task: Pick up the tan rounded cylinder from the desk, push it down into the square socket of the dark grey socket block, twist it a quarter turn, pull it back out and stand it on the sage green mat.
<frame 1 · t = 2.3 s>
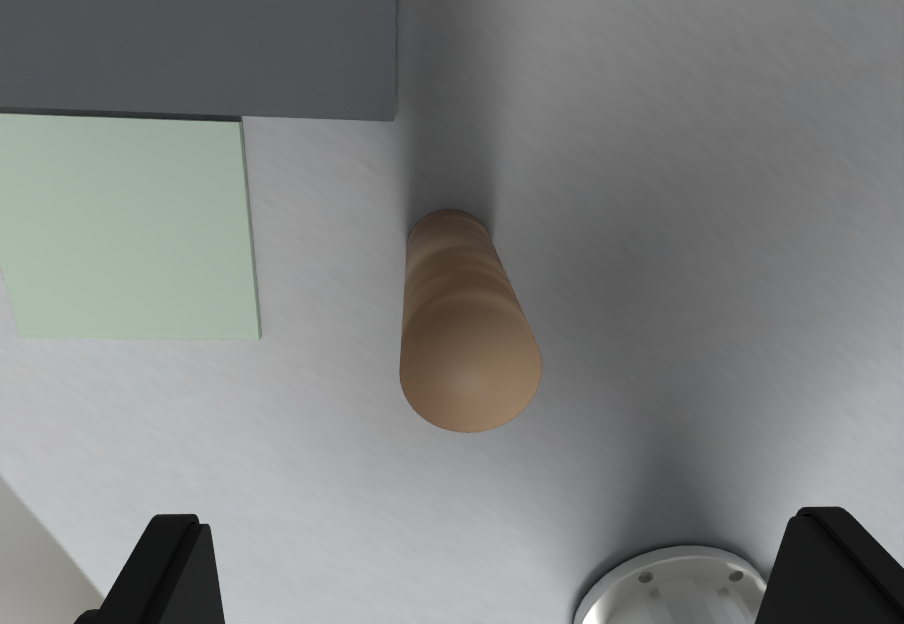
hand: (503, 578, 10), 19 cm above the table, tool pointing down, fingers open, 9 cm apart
set down mat: (127, 233, 26), on the table
tan rounded cylinder: (449, 251, 28), on the table
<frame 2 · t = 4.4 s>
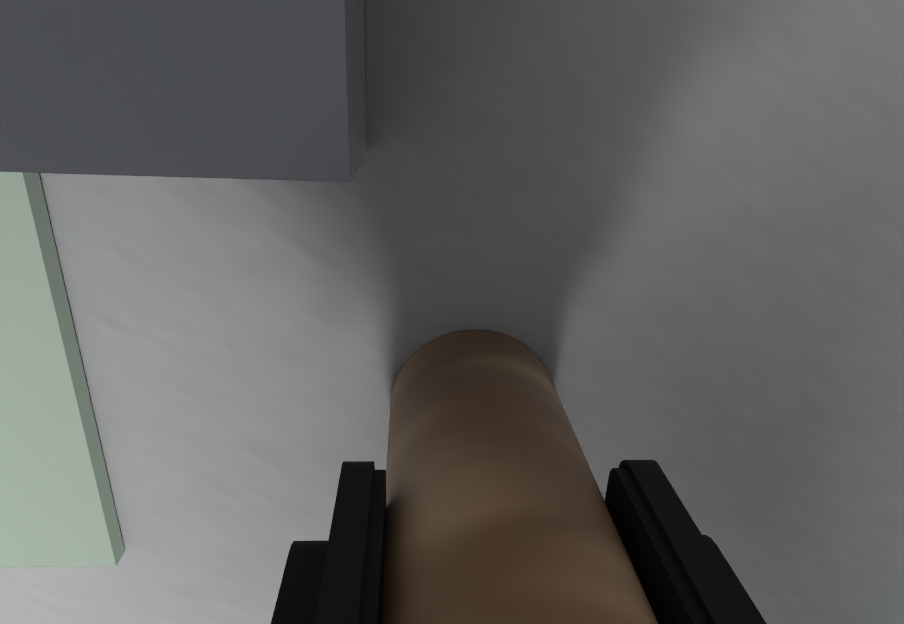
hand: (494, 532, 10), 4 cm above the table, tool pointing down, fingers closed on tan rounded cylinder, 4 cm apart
tan rounded cylinder: (472, 403, 14), on the table, touching gripper
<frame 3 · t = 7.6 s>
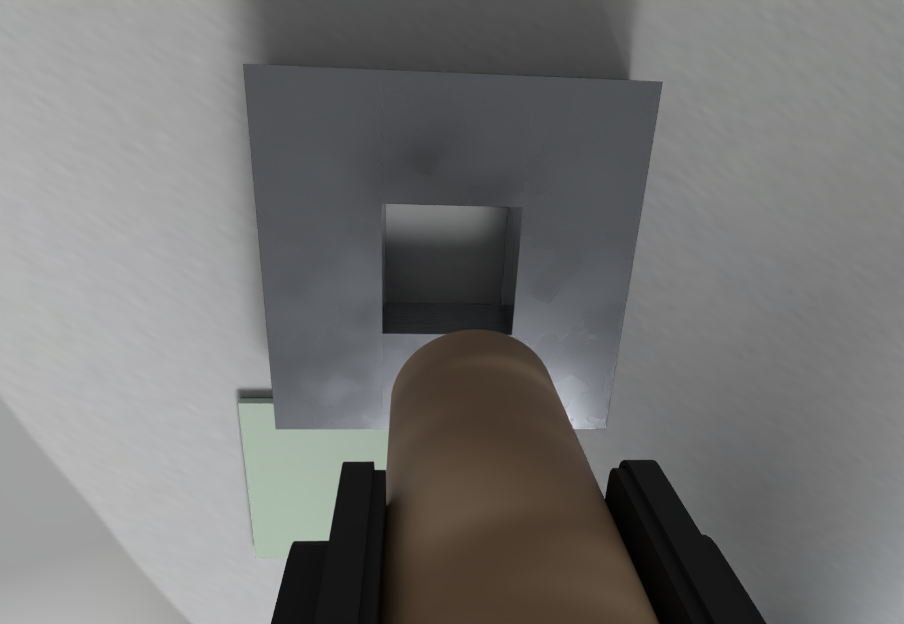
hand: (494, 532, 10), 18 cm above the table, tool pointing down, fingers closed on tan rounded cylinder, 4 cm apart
dark grey socket block: (445, 248, 27), on the table
set down mat: (353, 478, 32), on the table
tan rounded cylinder: (472, 403, 14), point 14 cm above the table, touching gripper
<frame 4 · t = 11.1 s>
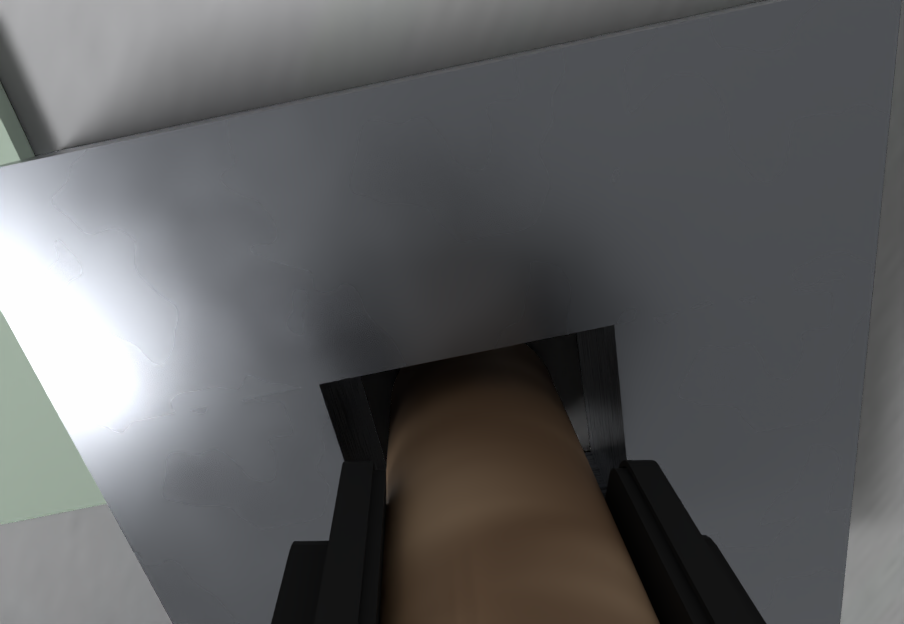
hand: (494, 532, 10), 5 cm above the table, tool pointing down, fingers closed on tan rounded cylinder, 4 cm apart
dark grey socket block: (474, 385, 15), on the table
tan rounded cylinder: (472, 403, 14), point 1 cm above the table, touching gripper
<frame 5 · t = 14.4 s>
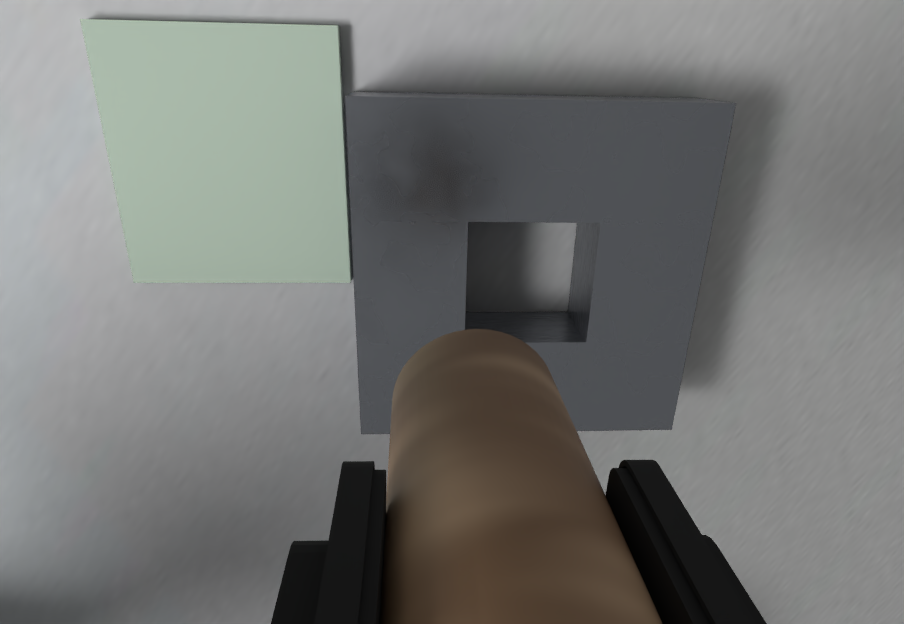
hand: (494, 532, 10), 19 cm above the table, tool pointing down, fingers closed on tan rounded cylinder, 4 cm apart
dark grey socket block: (517, 259, 28), on the table
set down mat: (231, 161, 26), on the table
tan rounded cylinder: (474, 403, 14), point 15 cm above the table, touching gripper
when the fingers open (6 cm above the table, at t = 17.8 s): tan rounded cylinder drops 1 cm, resting on set down mat.
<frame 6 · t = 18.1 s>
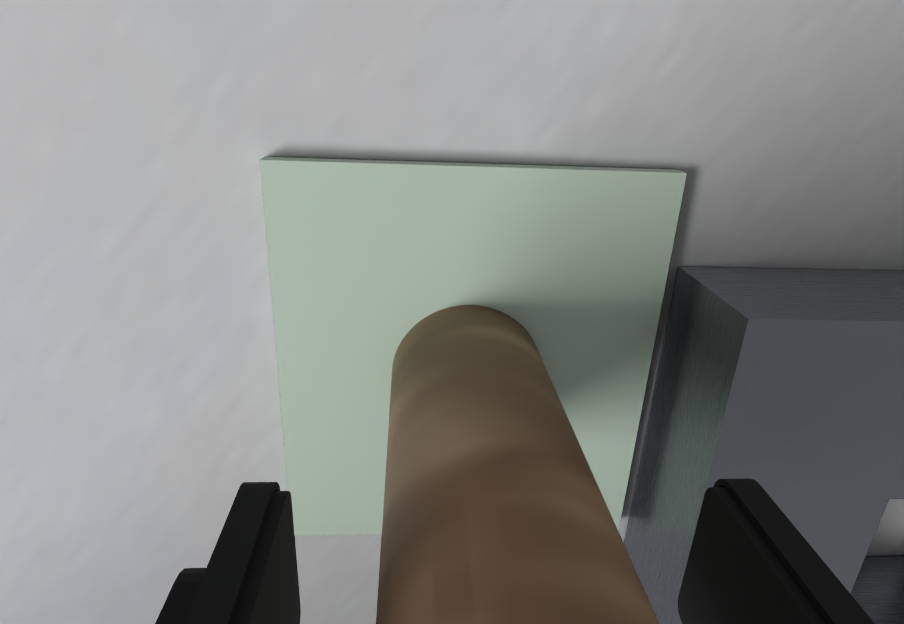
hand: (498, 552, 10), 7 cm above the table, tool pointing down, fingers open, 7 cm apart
dark grey socket block: (860, 492, 19), on the table
set down mat: (465, 365, 16), on the table
tan rounded cylinder: (466, 373, 16), point 1 cm above the table, touching set down mat
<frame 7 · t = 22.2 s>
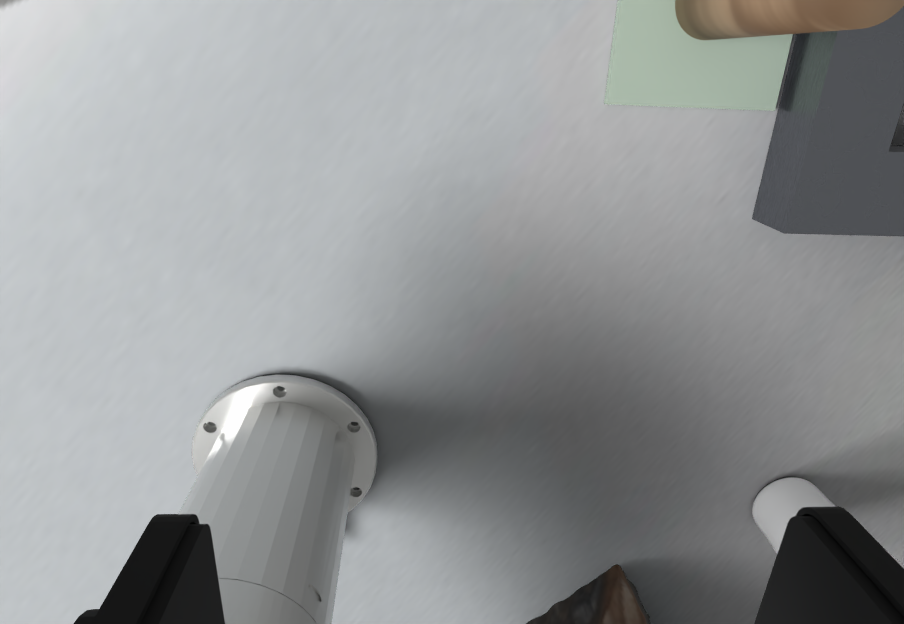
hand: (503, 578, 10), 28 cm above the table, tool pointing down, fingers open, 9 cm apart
jagged brown boulder: (597, 620, 51), on the table
dark grey socket block: (903, 97, 35), on the table
set down mat: (707, 1, 32), on the table
drinking glass: (780, 499, 47), on the table
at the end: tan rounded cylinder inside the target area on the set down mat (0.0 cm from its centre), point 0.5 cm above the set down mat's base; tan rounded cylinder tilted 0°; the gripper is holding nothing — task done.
